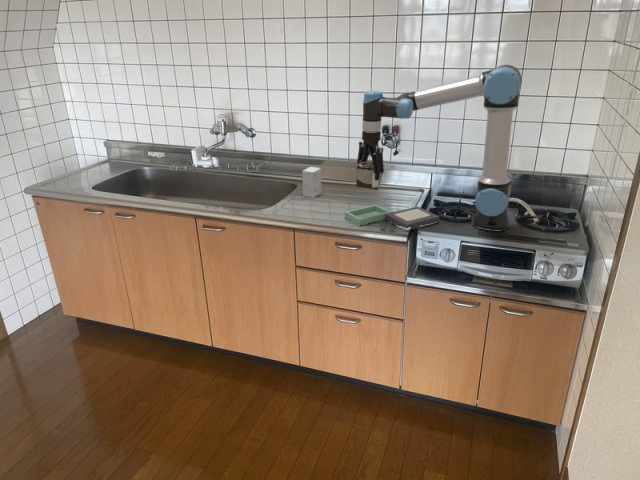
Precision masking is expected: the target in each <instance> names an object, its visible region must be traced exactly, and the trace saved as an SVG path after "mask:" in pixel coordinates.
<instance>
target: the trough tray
mask: <svg viewBox="0 0 640 480" xmlns="http://www.w3.org/2000/svg"><path fill="white" fill-rule="evenodd" d="M388 213H392V211H391V210H387V209H386V208H384V207H382V206H379V205H378V204H373V205H369V206H365V207H361V208H360V207H359V208H356V209H351V210H347V211H344V219H345V218H346V219H345V220H347V219H348V220H347V221H349V220H350V221H349V222H351V221H352V222H354V223H356V224H358V225H363V224H367V223H371V224H373V223H372V222H375V223H377V222H376V221H379V222H381V221H380V220H383V221H385V220H384V219H385V217H386V214H388ZM352 222H351V223H352ZM354 223H353V224H354ZM356 224H355V225H356ZM358 225H357V226H358ZM367 225H368V224H367ZM363 226H364V225H363Z"/></svg>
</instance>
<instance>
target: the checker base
mask: <svg viewBox="0 0 640 480" xmlns="http://www.w3.org/2000/svg"><path fill="white" fill-rule="evenodd" d="M414 209H419V210H421V211H423V212H425V213H427V214H430V215H431V216H430V217H426V218H422V219H418V220H414V221H411V222H406V221H404V220H402V219H400V218H398V217H396V216H394V214H398V213H402V212H406V211H410V210H414ZM385 220H387V221H389V222H392V223H394V224H396V225H398V226H402V227H406V228H408V227H411V229H412V230H411V231H413V230H417V229H419V228H418V227H419V226H420V225H425V224H430V223H434V222H437V221H439V222H440V216H439V215H437V214H435V213H433V212H430V211H429V210H426V209H424V208H421V207H419V206H412V207H409V208H405V209H402V210H397V211H394V212H393V211H391V213H388V214H386V217H385ZM385 220H384V221H385ZM387 221H386V222H387ZM389 222H388V223H389Z"/></svg>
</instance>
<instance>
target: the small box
mask: <svg viewBox="0 0 640 480" xmlns="http://www.w3.org/2000/svg"><path fill="white" fill-rule="evenodd" d="M301 173H302V174H301V175H302V196H303V197H306V198H307V197H308V198H315V197H317V196H318V195H321V194H322V168H321V167H316V166H309V167H307V168H305V169H303V170H302V172H301Z"/></svg>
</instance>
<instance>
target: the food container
mask: <svg viewBox="0 0 640 480" xmlns="http://www.w3.org/2000/svg"><path fill="white" fill-rule="evenodd" d="M356 164H357V163H356ZM383 169H384V171H383V172H380V176H379V185H378V187H375V188H373V187H372V180H373V172H374V167H373V162H372V161H367V162H360V163H358V164H357V165H356V166H355V170H356V174H355V175H356V178H355V181H356V182H355V188H359V189H360V188H361V189H366V190H373V191H379V187H380V185H381V181H382V178H383V174H384V173H385V168H384V167H383Z"/></svg>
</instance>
